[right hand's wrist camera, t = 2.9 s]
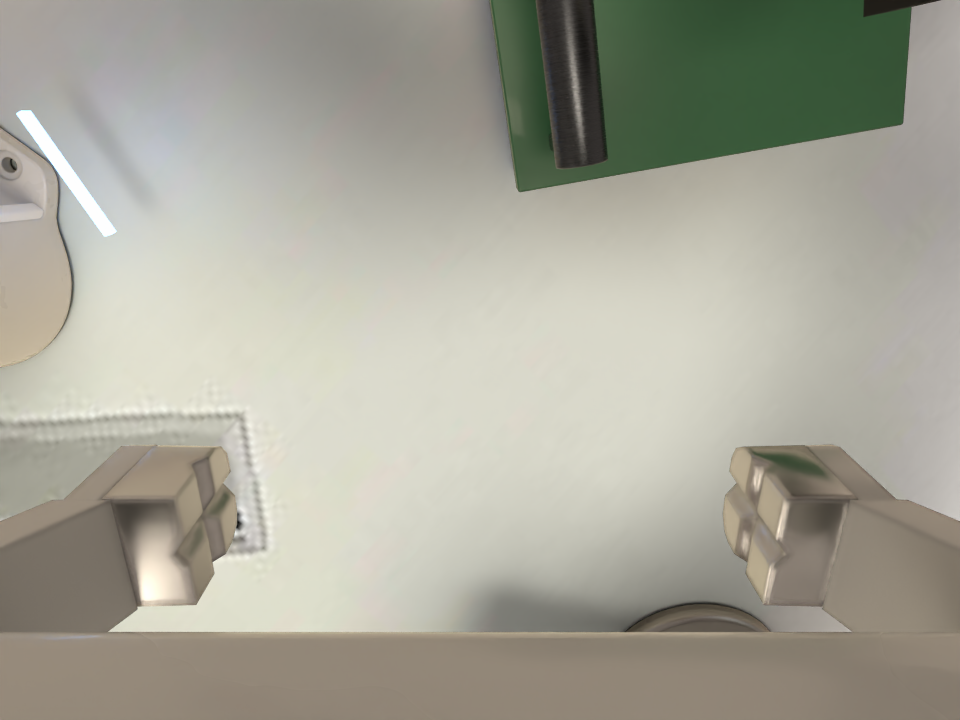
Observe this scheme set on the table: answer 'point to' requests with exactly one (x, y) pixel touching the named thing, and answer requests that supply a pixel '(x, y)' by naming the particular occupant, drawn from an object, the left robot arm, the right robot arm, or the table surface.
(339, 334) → the table surface
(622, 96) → the lid
